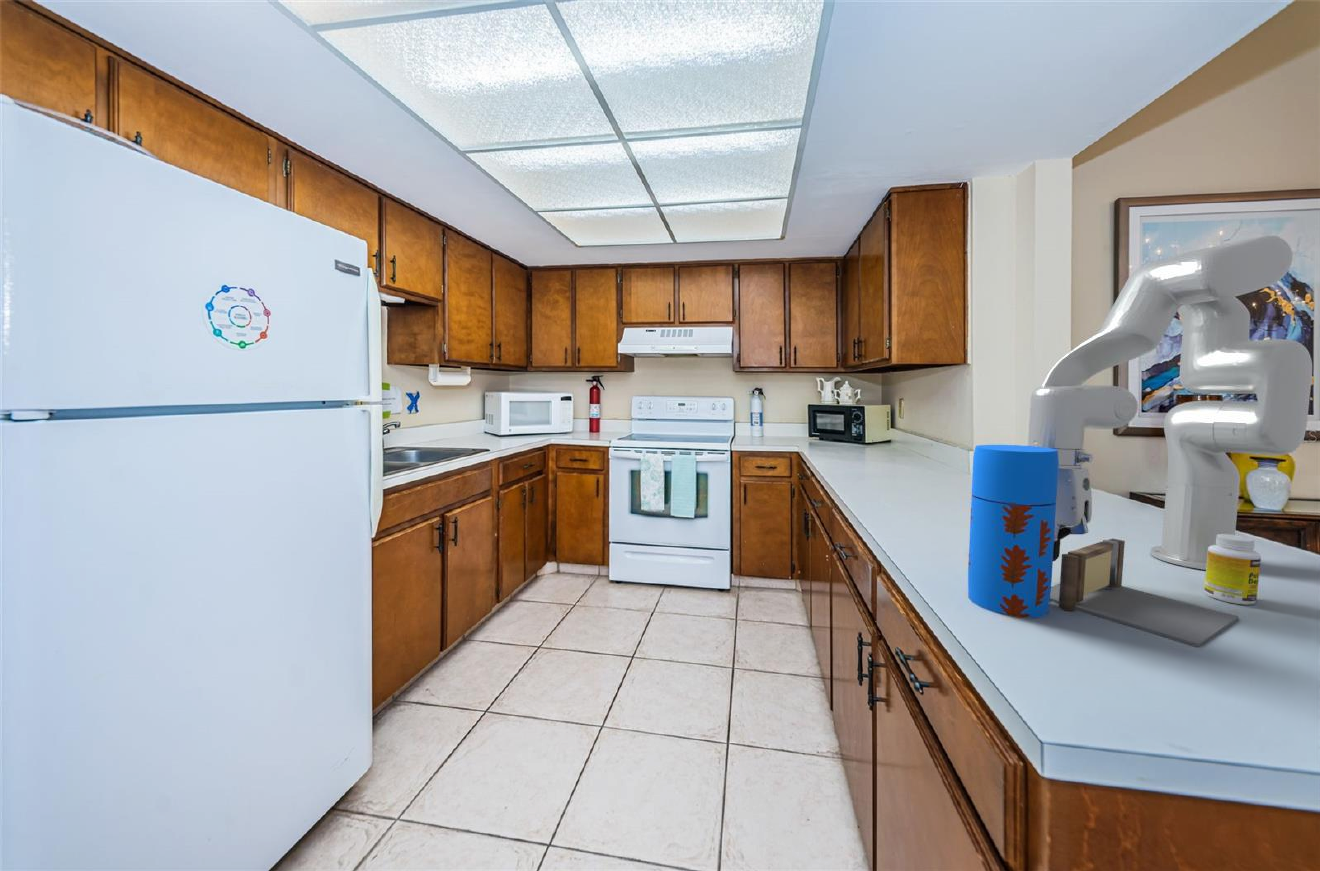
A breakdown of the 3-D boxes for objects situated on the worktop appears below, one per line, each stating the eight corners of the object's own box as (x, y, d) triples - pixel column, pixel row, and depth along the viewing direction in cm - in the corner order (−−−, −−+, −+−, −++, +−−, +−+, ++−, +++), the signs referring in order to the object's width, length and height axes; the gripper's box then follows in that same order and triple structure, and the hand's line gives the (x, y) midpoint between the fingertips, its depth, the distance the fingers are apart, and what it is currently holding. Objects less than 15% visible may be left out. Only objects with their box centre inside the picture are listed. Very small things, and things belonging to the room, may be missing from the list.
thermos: (969, 585, 86) (975, 443, 84) (1046, 599, 80) (1056, 446, 78) (964, 607, 77) (972, 449, 75) (1051, 625, 71) (1062, 453, 69)
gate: (1102, 582, 84) (1105, 539, 84) (1117, 586, 83) (1120, 542, 82) (1064, 598, 78) (1067, 551, 77) (1079, 602, 76) (1082, 555, 76)
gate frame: (1080, 577, 89) (1083, 532, 89) (1238, 619, 73) (1243, 563, 72) (1027, 598, 80) (1029, 548, 80) (1192, 650, 64) (1198, 588, 63)
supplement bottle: (1253, 609, 76) (1259, 544, 75) (1200, 597, 80) (1205, 535, 80) (1259, 600, 79) (1265, 538, 78) (1207, 589, 84) (1213, 530, 83)
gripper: (1118, 461, 81) (1110, 570, 82) (1017, 452, 94) (1011, 546, 95) (1098, 464, 77) (1089, 577, 79) (995, 454, 90) (989, 551, 92)
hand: (1046, 560), depth 87 cm, fingers closed
